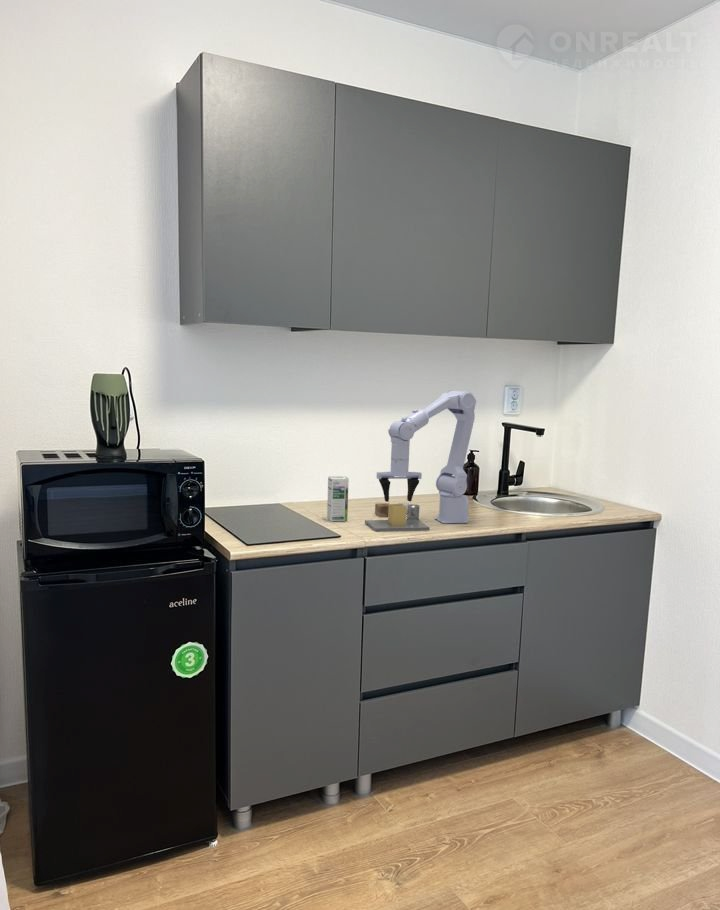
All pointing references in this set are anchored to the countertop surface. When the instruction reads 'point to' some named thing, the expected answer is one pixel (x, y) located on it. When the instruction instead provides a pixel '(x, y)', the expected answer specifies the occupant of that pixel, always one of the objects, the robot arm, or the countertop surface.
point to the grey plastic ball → (406, 506)
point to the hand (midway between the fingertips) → (398, 501)
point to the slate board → (385, 526)
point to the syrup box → (337, 498)
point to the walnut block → (381, 509)
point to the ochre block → (397, 514)
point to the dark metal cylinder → (413, 512)
